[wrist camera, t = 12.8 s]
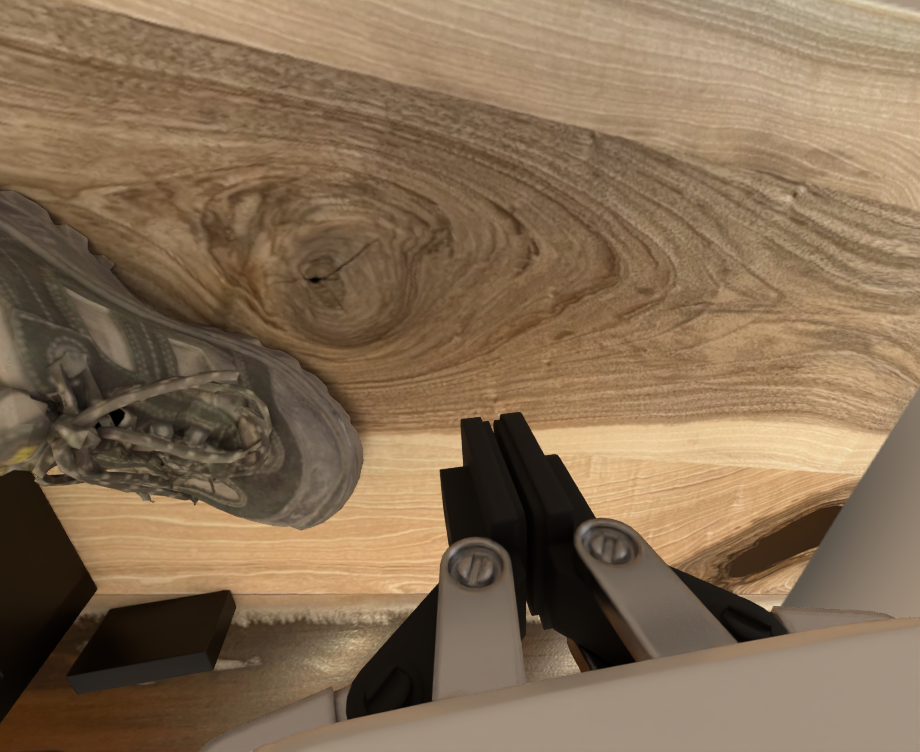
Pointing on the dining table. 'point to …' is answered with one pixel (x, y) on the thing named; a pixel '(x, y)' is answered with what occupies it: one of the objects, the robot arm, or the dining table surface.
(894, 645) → the robot arm
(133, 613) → the shoe rack
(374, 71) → the dining table surface
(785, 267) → the dining table surface
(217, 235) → the dining table surface
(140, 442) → the hiking shoe
